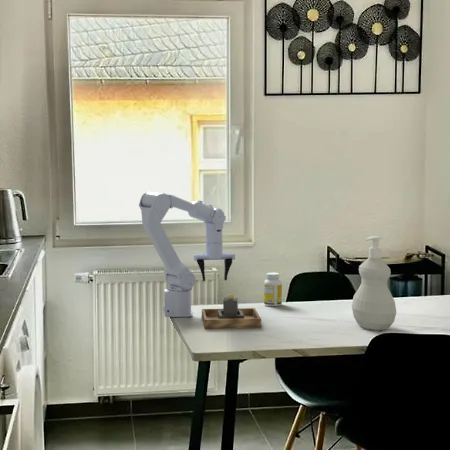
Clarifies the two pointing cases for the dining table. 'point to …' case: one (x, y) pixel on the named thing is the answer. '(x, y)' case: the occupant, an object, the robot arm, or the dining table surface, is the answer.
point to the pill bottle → (272, 290)
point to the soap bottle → (374, 292)
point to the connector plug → (230, 305)
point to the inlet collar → (221, 316)
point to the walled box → (249, 319)
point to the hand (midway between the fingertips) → (214, 280)
